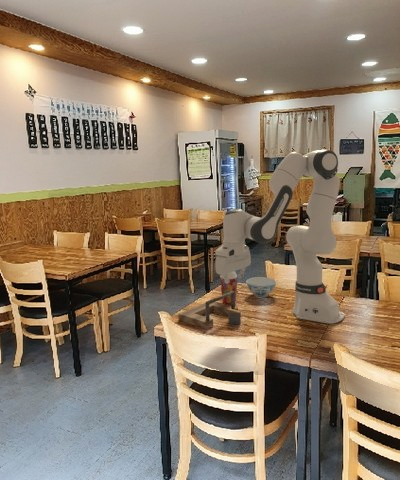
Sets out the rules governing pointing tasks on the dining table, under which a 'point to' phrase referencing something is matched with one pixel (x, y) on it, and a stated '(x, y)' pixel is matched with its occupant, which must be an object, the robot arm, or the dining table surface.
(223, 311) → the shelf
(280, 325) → the dining table surface
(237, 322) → the dark grey block
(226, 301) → the smoothie
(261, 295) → the chinaware
